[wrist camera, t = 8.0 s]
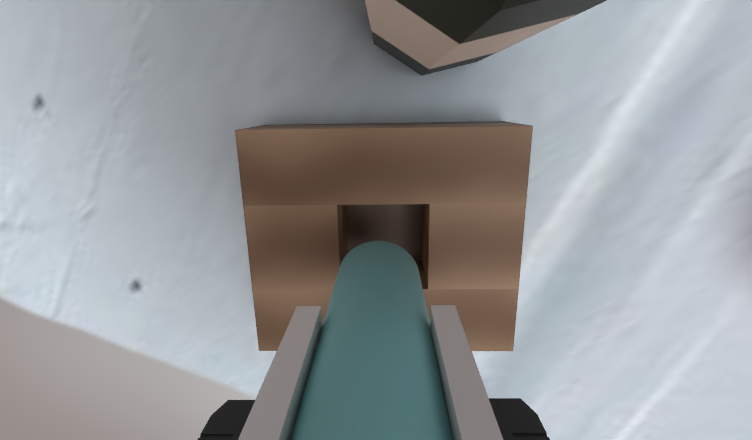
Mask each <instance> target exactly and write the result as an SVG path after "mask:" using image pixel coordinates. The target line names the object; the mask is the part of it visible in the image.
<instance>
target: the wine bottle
mask: <svg viewBox="0 0 752 440" xmlns="http://www.w3.org/2000/svg"><path fill="white" fill-rule="evenodd" d="M604 1H606V0H365V4H366V8H367V13H368V17H369V22H370V26H371V31H372V36H373V40H374V44H375V45H377V46H378V47H380V48H381V49H383V50H385V51H386V52H388V53H389V54H391V55H392V56H394V57H395V58H397V59H398V60H400V61H401V62H403V63H404V64H406V65H407V66H409V67H410V68H412V69H413V70H415V71H416V72H418V73H419V74H421V75H425V74H429V73H433V72H437V71H441V70H445V69H449V68H453V67H457V66H461V65H465V64H469V63H473V62H477V61H479V60H482V59H484V58H486V57H488V56H490V55H492V54H494V53H496V52H499V51H501V50H503V49H505V48H507V47H509V46H511V45H513V44H515V43H518V42H520V41H522V40H524V39H526V38H528V37H530V36H532V35H535V34H537V33H539V32H541V31H543V30H545V29H547V28H549V27H551V26H554V25H556V24H558V23H560V22H562V21H564V20H566V19H568V18H571V17H573V16H575V15H577V14H579V13H581V12H583V11H585V10H587V9H590V8H592V7H594V6H596V5H598V4H600V3H602V2H604Z"/></svg>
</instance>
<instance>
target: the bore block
mask: <svg viewBox="0 0 752 440" xmlns="http://www.w3.org/2000/svg"><path fill="white" fill-rule="evenodd" d="M532 129H533V126H530V125H524V124H517V123H510V122H504V121H500V122H433V123H367V124H300V125H263V126H257V127H251V128H245V129H239V130H235V133H236V142H237V152H238V161H239V170H240V179H241V188H242V198H243V207H244V216H245V225H246V235H247V244H248V253H249V262H250V272H251V281H252V290H253V299H254V308H255V318H256V327H257V336H258V345H259V351H277V350H278V348H279V345H280V343H281V341H282V339H283V336H284V334H285V332H286V330H287V327H288V325H289V323H290V320H291V318H292V316H293V314H294V311H295V309H296V307H297V306H321V316H322V326H323V323H324V319H325V316H326V312H327V309H328V305H329V302H330V298H331V295H332V291H333V288H334V284H335V281H336V277H337V274H338V270H339V267H340V264H341V262H342V260H343V259H344V257H345V256H346V255H347V254H348V253H349V252H350V251H351V250H352V249H354V248H355V247H357V246H359V245H361V244H363V243H366V242H370V241H386V242H391V243H394V244H396V245H398V246H400V247H402V248H403V249H405V250H406V251H407V252H408V253H409V254H410V255H411V256H412V257H413V259H414V260H415V262H416V264H417V267H418V269H419V274H420V279H421V283H422V288H423V293H424V298H425V302H426V307H427V312H428V317H429V321H430V305H455V307H456V310H457V312H458V315H459V318H460V321H461V323H462V326H463V329H464V332H465V335H466V337H467V340H468V343H469V346H470V348H471V351H513V345H514V334H515V323H516V311H517V300H518V288H519V277H520V266H521V254H522V243H523V232H524V220H525V209H526V197H527V186H528V175H529V163H530V152H531V141H532Z"/></svg>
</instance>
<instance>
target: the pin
mask: <svg viewBox="0 0 752 440" xmlns="http://www.w3.org/2000/svg"><path fill="white" fill-rule="evenodd" d="M290 440H453V435H452V430H451V425H450V421H449V416H448V411H447V406H446V401H445V397H444V392H443V387H442V382H441V377H440V373H439V368H438V363H437V358H436V353H435V349H434V344H433V339H432V334H431V329H430V321H429V317H428V312H427V307H426V302H425V298H424V293H423V288H422V283H421V279H420V274H419V269H418V267H417V264H416V262H415V260H414V259H413V257H412V256H411V255H410V254H409V253H408V252H407V251H406V250H405V249H403V248H402V247H400V246H398V245H396V244H394V243H391V242H386V241H370V242H366V243H363V244H361V245H359V246H357V247H355V248H354V249H352V250H351V251H350V252H349V253H348V254H347V255H346V256H345V257H344V259H343V260H342V262H341V264H340V267H339V270H338V274H337V277H336V281H335V284H334V288H333V291H332V295H331V298H330V302H329V305H328V309H327V312H326V316H325V319H324V323H323V326H322V330H321V333H320V337H319V340H318V344H317V347H316V351H315V354H314V358H313V361H312V365H311V368H310V372H309V375H308V379H307V382H306V386H305V389H304V393H303V396H302V400H301V404H300V407H299V411H298V414H297V418H296V421H295V425H294V428H293V432H292V435H291V439H290Z"/></svg>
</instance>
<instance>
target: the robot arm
mask: <svg viewBox="0 0 752 440" xmlns="http://www.w3.org/2000/svg"><path fill="white" fill-rule="evenodd" d="M430 329H431V334H432V339H433V344H434V349H435V353H436V358H437V363H438V368H439V373H440V377H441V382H442V387H443V392H444V397H445V401H446V406H447V411H448V416H449V421H450V425H451V430H452V435H453V440H550V439H549V437H547V435H546V431H545V429H544V427H543V425H542V423H541V421H540V419H539V417H538V415H537V414H536V413H535V412H534V411H533V410H532V409H531V408H530V407H529V406H528V405H527V404H526V403H525V402H524V401H522V400H521V399H489V398H488V396H487V393H486V390H485V387H484V385H483V382H482V379H481V376H480V373H479V371H478V368H477V365H476V362H475V360H474V357H473V354H472V351H471V348H470V346H469V343H468V340H467V337H466V335H465V332H464V329H463V326H462V323H461V321H460V318H459V315H458V312H457V310H456V307H455V305H430ZM321 330H322V316H321V306H297V307H296V309H295V311H294V314H293V316H292V318H291V320H290V323H289V325H288V327H287V330H286V332H285V334H284V336H283V339H282V341H281V343H280V345H279V348H278V350H277V352H276V355H275V357H274V359H273V361H272V364H271V366H270V368H269V370H268V373H267V375H266V377H265V380H264V382H263V384H262V386H261V389H260V391H259V393H258V395H257V398H256V400H228V401H227V402H226V403H224V404H223V405H222V406H221V407H220V408H219V409H218V410H217V411H216V412H214V413H213V414H212V415H211V417H210V418H209V420H208V422H207V424H206V426H205V427H204V429H203V431H202V433H201V436H200V438H198V440H290V439H291V435H292V432H293V428H294V425H295V421H296V418H297V414H298V411H299V407H300V404H301V400H302V396H303V393H304V389H305V386H306V382H307V379H308V375H309V372H310V368H311V365H312V361H313V358H314V354H315V351H316V347H317V344H318V340H319V337H320V333H321Z"/></svg>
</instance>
